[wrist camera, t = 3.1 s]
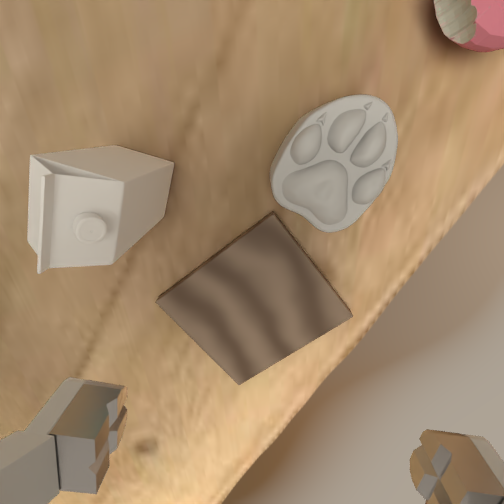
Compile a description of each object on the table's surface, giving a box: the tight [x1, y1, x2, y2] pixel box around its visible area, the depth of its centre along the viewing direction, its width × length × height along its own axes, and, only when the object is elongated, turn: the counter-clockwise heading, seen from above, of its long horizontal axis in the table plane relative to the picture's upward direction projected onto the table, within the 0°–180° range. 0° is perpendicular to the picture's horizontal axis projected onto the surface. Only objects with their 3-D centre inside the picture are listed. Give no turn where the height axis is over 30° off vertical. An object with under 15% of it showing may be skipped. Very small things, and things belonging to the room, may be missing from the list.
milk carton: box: [27, 145, 174, 274], centre depth 30 cm, size 7×7×19 cm
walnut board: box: [156, 212, 353, 385], centre depth 44 cm, size 20×18×2 cm
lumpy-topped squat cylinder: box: [270, 95, 398, 233], centre depth 33 cm, size 10×13×9 cm
